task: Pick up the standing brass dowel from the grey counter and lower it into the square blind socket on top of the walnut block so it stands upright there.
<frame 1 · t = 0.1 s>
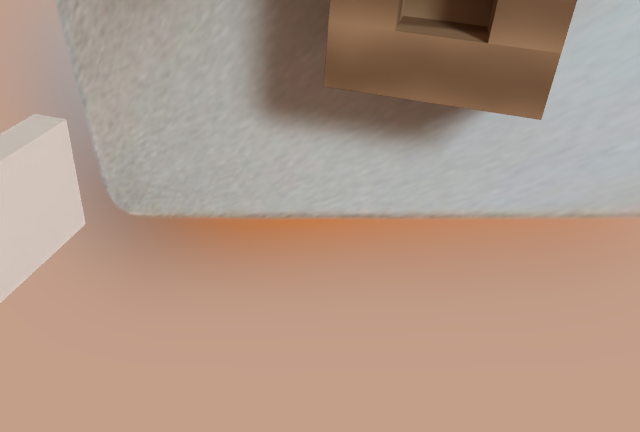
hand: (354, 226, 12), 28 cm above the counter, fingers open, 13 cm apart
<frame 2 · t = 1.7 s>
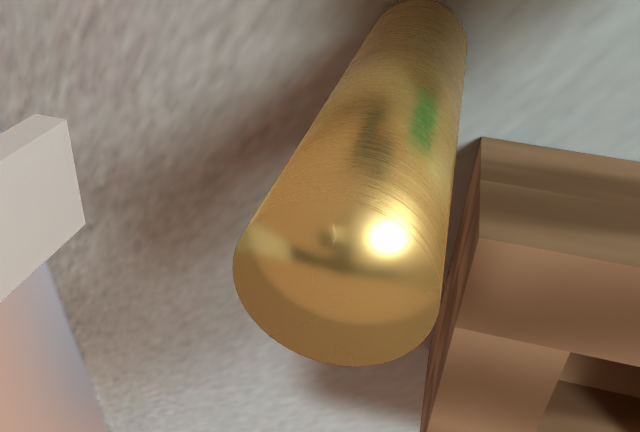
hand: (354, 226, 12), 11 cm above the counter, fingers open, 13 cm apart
brass pin: (416, 49, 21), on the counter
bore block: (592, 286, 25), on the counter
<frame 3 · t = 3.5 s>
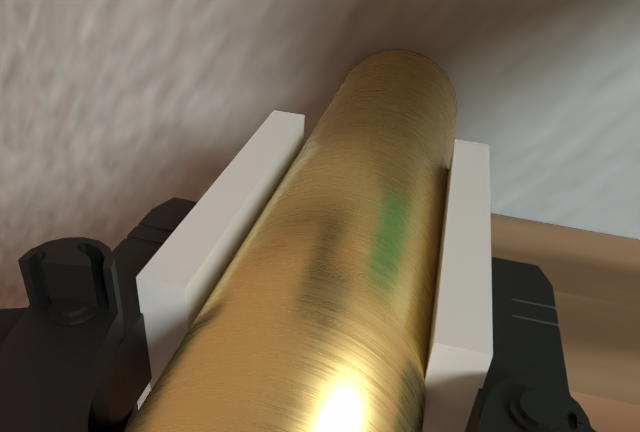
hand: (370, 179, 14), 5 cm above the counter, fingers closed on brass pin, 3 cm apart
brass pin: (396, 108, 18), on the counter, touching gripper
bore block: (604, 378, 21), on the counter
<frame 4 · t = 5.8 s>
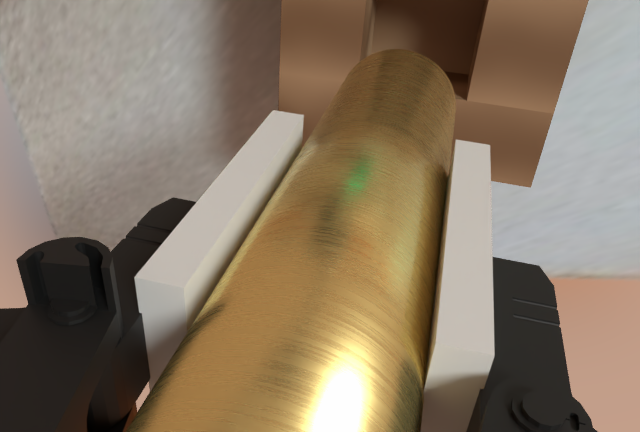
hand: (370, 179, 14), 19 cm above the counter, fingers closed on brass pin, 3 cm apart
brass pin: (396, 107, 18), point 14 cm above the counter, touching gripper
bore block: (432, 0, 30), on the counter
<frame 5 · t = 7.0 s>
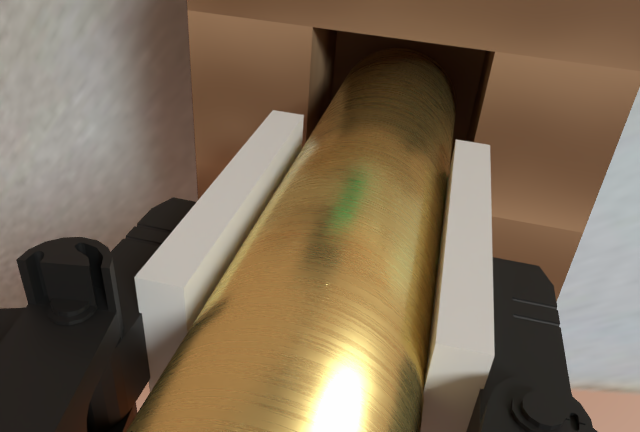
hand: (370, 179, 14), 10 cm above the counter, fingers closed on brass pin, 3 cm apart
brass pin: (396, 105, 18), point 5 cm above the counter, touching gripper
bore block: (414, 53, 22), on the counter
when the fingers open (9 cm above the counter, at t = 8.0 s): brass pin stays where it is, resting on bore block.
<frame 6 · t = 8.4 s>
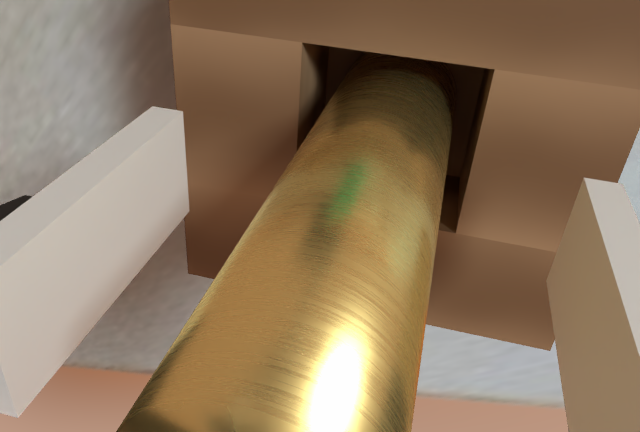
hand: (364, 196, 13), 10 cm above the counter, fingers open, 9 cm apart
brass pin: (398, 98, 18), point 4 cm above the counter, touching bore block
bore block: (410, 65, 21), on the counter
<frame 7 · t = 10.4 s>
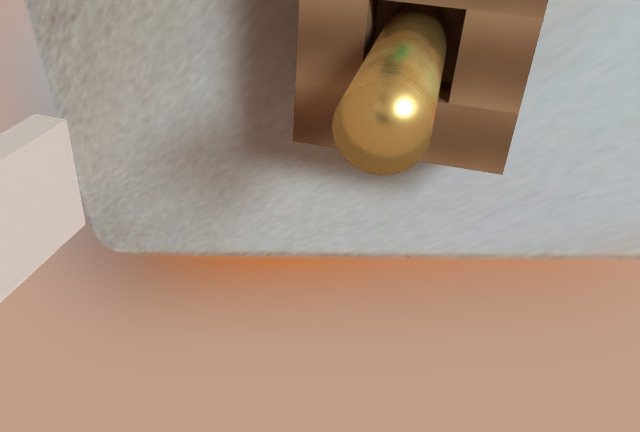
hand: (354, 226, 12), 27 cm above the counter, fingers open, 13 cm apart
brass pin: (416, 35, 32), point 4 cm above the counter, touching bore block
bore block: (421, 21, 35), on the counter
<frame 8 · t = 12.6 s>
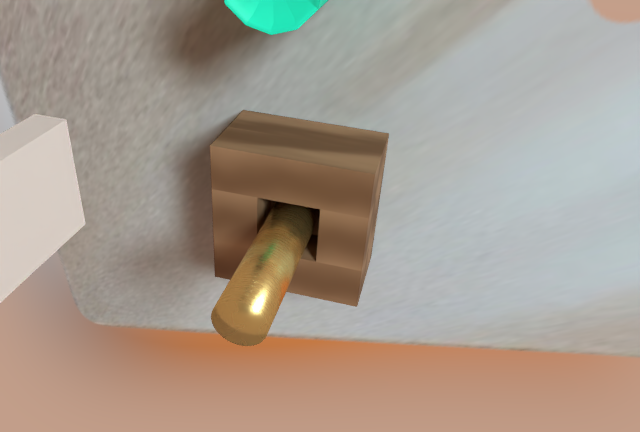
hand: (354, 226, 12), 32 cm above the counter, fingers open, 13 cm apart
brass pin: (299, 206, 46), point 4 cm above the counter, touching bore block
bore block: (310, 186, 49), on the counter
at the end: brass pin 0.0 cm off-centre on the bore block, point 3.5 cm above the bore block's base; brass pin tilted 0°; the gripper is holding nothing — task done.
